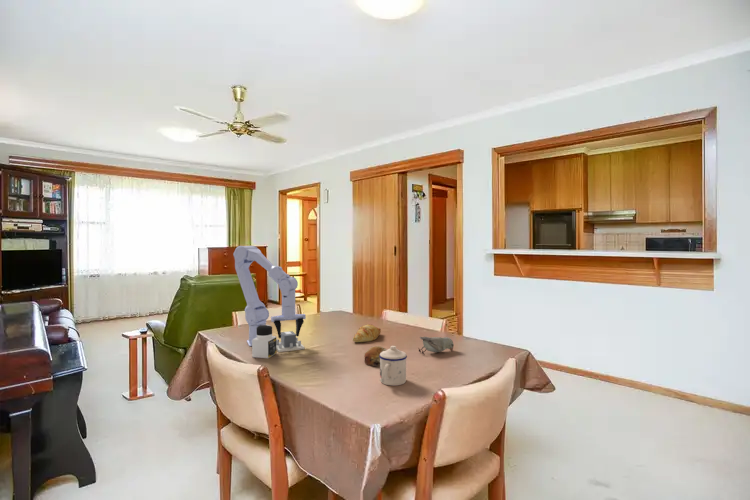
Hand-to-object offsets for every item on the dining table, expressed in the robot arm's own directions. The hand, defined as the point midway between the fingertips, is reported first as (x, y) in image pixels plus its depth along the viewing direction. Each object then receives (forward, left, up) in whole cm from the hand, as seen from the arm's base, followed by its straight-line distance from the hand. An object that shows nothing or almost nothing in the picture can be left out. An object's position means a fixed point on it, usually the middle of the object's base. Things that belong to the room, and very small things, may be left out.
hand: (288, 336), depth 170 cm
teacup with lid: (+56, +22, -5) cm, 60 cm away
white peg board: (0, 0, -4) cm, 4 cm away
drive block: (0, 0, -4) cm, 4 cm away
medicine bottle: (+8, -12, -5) cm, 15 cm away
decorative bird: (+33, +54, -5) cm, 64 cm away
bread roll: (+35, +26, -5) cm, 44 cm away
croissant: (+1, +37, -5) cm, 37 cm away
